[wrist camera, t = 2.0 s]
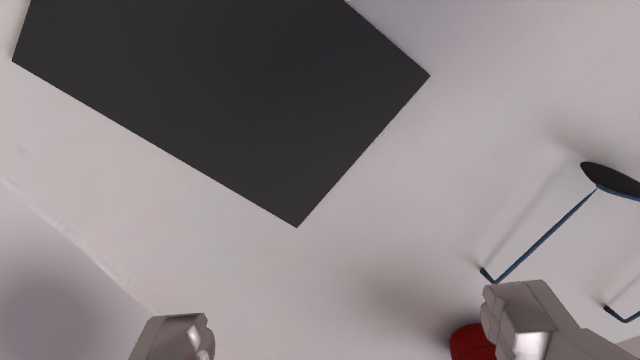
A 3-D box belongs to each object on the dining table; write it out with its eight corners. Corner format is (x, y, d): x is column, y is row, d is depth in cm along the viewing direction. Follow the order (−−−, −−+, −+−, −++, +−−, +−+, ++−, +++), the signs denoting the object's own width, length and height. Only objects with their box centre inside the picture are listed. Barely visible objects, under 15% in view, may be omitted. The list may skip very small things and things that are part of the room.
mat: (14, 60, 27) (11, 61, 26) (102, -206, 20) (98, -210, 20) (297, 225, 34) (296, 228, 34) (429, 74, 28) (430, 75, 27)
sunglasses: (714, 207, 34) (765, 245, 30) (595, 294, 42) (622, 334, 38) (570, 150, 31) (605, 184, 27) (471, 256, 39) (487, 295, 35)
